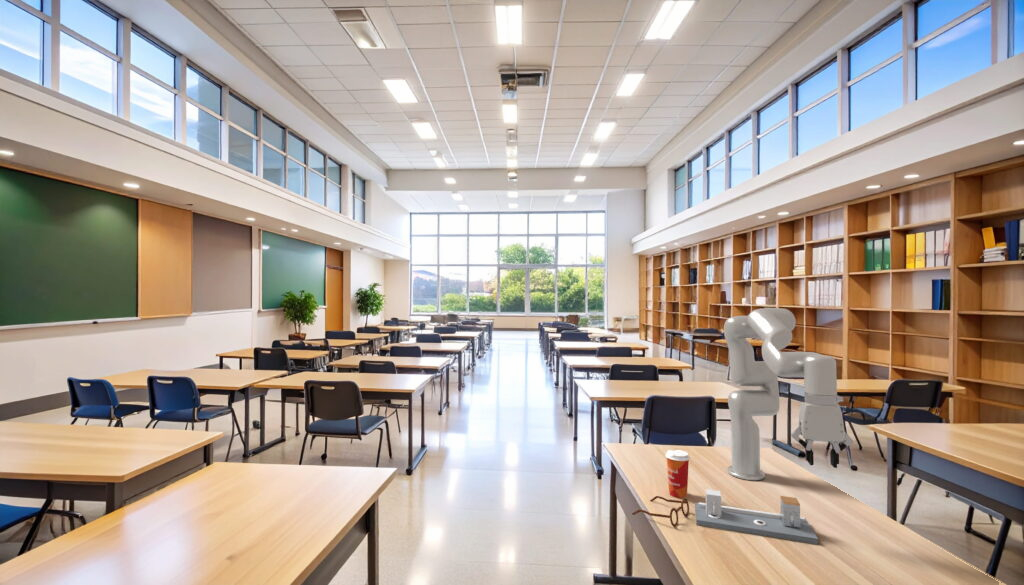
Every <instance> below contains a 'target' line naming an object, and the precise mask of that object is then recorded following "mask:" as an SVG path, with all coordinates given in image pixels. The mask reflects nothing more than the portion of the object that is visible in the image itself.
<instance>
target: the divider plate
mask: <svg viewBox="0 0 1024 585" xmlns="http://www.w3.org/2000/svg"><path fill="white" fill-rule="evenodd" d="M694 509H695V510H694V511H695V512H694V514H695V522H696V523H695V524H696V526H700V527H709V528H711V529H713V528H714V529H719V530H727V531H731V530H732V532H739V533H744V534H745V533H746V534H750V533H751V534H752V535H756V536H757V535H758V536H764V537H769V538H774V539H775V538H776V539H783V540H788V541H793V542H799V543H800V542H801V543H807V544H813V545H818V544H819V539H818V537H817V535H816V533H815V531H814V530H813V528H812V526H811V524H810V523H809V521H808V520H807V518H804V517H803V516H800V528H799V527H793V526H786V525H784V524H783V522H782V520H781V513H777V512H776V513H775V512H770V511H769V512H768V511H762V510H761V511H760V510H757V509H756V510H755V509H747V508H739V507H735V506H734V507H733V506H726V505H722V495H721V490H716V489H715V490H714V489H709V488H708V489H707V488H705V502H694Z"/></svg>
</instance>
